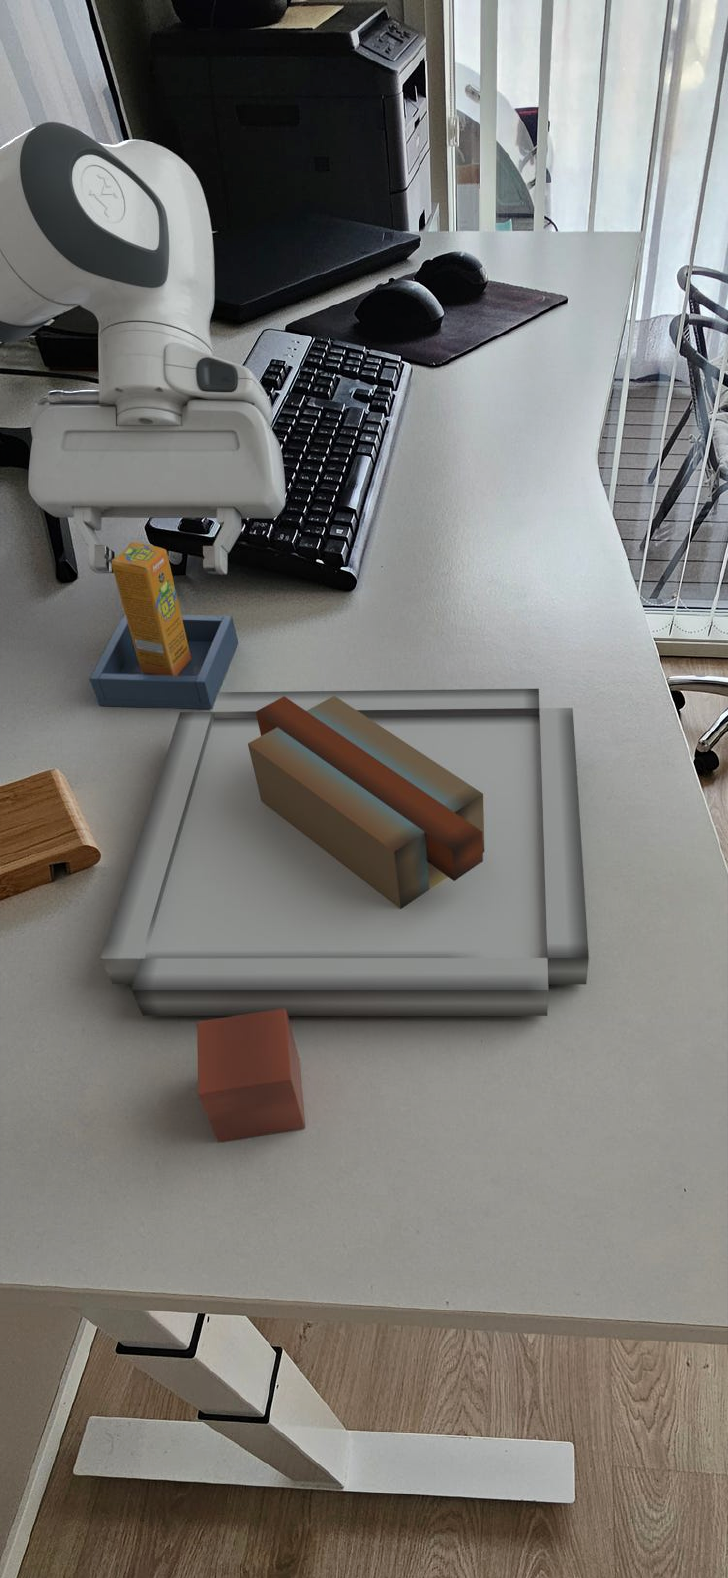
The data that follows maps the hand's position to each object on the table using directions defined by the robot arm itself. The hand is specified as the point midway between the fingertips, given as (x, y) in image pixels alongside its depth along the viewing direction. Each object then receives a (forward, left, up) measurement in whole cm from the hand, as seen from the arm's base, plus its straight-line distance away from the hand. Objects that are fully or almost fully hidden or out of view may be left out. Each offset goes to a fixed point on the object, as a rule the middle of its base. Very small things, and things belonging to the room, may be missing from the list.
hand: (158, 571), depth 84 cm
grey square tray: (+20, -24, -8) cm, 32 cm away
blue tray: (0, -3, -8) cm, 8 cm away
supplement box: (0, -3, -7) cm, 8 cm away
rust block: (+17, -45, -8) cm, 49 cm away
